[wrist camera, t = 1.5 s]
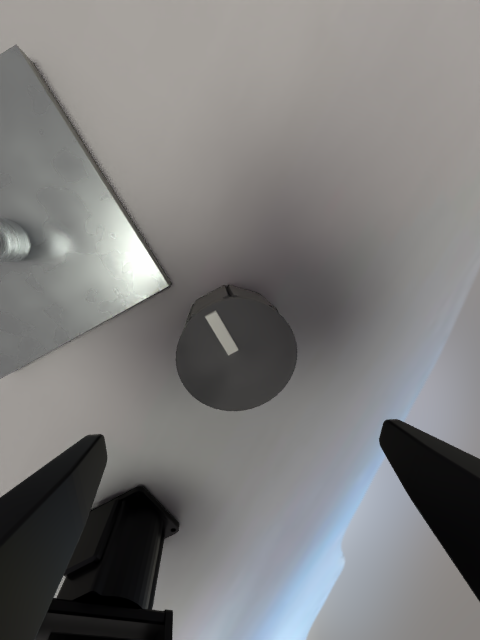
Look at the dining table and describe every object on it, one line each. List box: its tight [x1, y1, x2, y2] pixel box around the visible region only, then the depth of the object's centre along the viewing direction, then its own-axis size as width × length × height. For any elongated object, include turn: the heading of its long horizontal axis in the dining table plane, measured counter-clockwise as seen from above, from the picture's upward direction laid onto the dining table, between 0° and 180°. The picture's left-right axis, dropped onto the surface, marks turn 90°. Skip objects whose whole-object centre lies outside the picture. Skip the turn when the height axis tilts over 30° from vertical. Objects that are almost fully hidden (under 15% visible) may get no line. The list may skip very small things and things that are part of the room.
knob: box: [176, 285, 297, 411], centre depth 15 cm, size 7×7×5 cm
